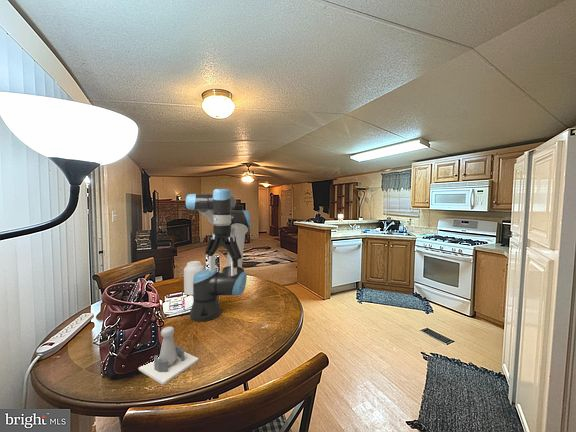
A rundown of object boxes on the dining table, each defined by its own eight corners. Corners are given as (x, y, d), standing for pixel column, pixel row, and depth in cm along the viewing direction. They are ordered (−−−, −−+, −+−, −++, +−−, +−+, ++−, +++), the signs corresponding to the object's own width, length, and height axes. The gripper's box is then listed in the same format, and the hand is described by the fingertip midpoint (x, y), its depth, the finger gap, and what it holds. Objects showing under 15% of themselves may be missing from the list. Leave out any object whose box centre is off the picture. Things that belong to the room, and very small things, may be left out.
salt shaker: (158, 371, 82) (157, 334, 82) (159, 360, 87) (159, 326, 87) (177, 366, 85) (176, 330, 84) (177, 356, 90) (176, 323, 89)
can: (208, 289, 163) (207, 260, 162) (197, 296, 151) (196, 265, 150) (191, 288, 166) (191, 259, 165) (179, 294, 153) (179, 263, 152)
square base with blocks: (138, 369, 84) (138, 358, 84) (174, 349, 96) (174, 338, 96) (162, 385, 77) (162, 372, 77) (198, 360, 89) (198, 349, 89)
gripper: (196, 223, 108) (197, 269, 109) (237, 227, 95) (237, 279, 96) (209, 222, 114) (210, 266, 116) (249, 225, 101) (250, 274, 103)
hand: (222, 272), depth 106 cm, fingers open, 13 cm apart
